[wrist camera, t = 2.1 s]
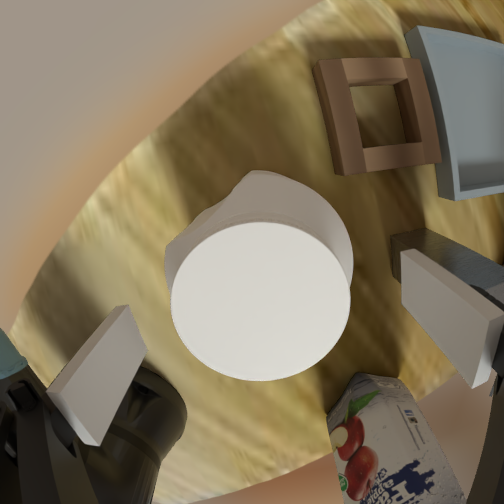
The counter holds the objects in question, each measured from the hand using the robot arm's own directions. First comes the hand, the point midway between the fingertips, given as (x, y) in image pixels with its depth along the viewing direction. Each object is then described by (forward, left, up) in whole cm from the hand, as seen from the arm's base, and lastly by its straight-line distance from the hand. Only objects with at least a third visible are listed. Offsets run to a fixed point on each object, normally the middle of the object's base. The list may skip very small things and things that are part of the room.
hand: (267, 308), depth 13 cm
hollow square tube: (+13, +9, -15) cm, 21 cm away
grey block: (+15, -5, -15) cm, 21 cm away
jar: (0, 0, -15) cm, 15 cm away
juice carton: (+9, -24, -15) cm, 30 cm away
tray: (+28, +9, -15) cm, 33 cm away
